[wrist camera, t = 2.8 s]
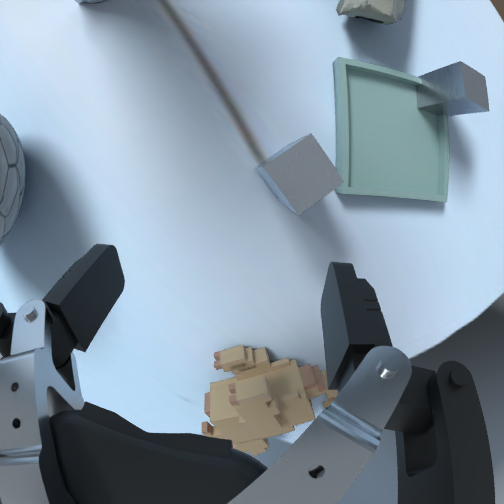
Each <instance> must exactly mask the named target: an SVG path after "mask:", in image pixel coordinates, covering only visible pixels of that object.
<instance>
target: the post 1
mask: <svg viewBox="0 0 504 504" xmlns="http://www.w3.org/2000/svg"><path fill="white" fill-rule="evenodd" d="M255 169H256V170H257V172H258V173H259V174H260V175H261V177H262V178H263V179H264V181H265V182H266V183H267V185H268V186H269V187H270V189H271V190H272V191H273V193H274V194H275V195H276V197H277V198H278V199H279V201H280V202H282V203H283V204H284V205H286V206H287V207H288V208H289V209H291V210H292V211H293V212H295V213H296V214H297V215H298V216H299V215H300V214H301V213H303V212H304V211H306V210H307V209H308V208H310V207H311V206H312V205H314V204H315V203H316V202H318V201H319V200H320V199H322V198H323V197H325V196H326V195H327V194H329V193H330V192H331V191H333V190H334V189H335V188H337V187H338V186H339V185H341V184H342V183H343V182H344V181H343V179H342V178H341V176H340V174H339V173H338V171H337V170H336V168H335V167H334V165H333V164H332V162H331V161H330V159H329V158H328V156H327V155H326V154H325V152H324V151H323V149H322V148H321V146H320V145H319V144H318V142H317V141H316V139H315V138H314V137H313V135H312V134H309V135H307V136H304V137H302V138H300V139H298V140H296V141H294V142H292V143H290V144H288V145H287V146H285V147H284V148H282V149H281V150H280V151H278V152H277V153H275V154H274V155H273V156H271V157H270V158H268V159H267V160H266V161H264V162H263V163H261V164H260V165H259V166H257V167H256V168H255Z"/></svg>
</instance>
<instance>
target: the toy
mask: <svg viewBox="0 0 504 504" xmlns="http://www.w3.org/2000/svg"><path fill="white" fill-rule="evenodd" d="M214 358H215V359H216V361H215V362H214V367H215V368H216V370H219V369H222V368H223V370H224V371H225V372H227V371H232V373H233V374H235V375H236V377H234V378H230V379H226V380H222V381H218V382H214V383H210V392H209V393H205V413H206V414H207V415H208V416H209V417H210V422H211V423H212V424H213V425H214V426H211V425H210V424H209V423H208V422H202V433H203V434H205V435H206V436H208V437H214V438H220V439H227V440H232V444H233V448H234V449H237V450H239V451H242V452H246V451H249V452H250V453H252V454H253V455H258V454H259V453H260V452H265V451H267V448H266V447H269V444H268V437H272V436H276V435H280V434H284V433H287V432H291V431H295V429H294V426H295V425H298V424H301V423H305V422H308V421H311V420H314V419H315V416H314V412H313V409H312V404H311V400H310V399H311V398H314V397H317V396H320V395H322V394H326V397H327V399H328V401H325V402H323V405H324V408H326V407H328V406H329V405H330V404H331V403H332V402H333V400H334V399H335V398H336V397H337V395H338V390H328V386H327V374H326V371H325V370H323V371H320V372H319V369H318V366H317V365H316V366H313V367H311V365H310V364H307V365H305V366H302V367H298V365H297V362H296V359H294V360H291V361H289V359H288V357H287V358H284V359H281V360H278V361H275V362H272V363H270V360H269V355H268V352H267V350H266V348H265V347H263V348H260V349H256V350H253V349H252V347H248V348H245V347H244V345H239V346H236V347H233V348H229V349H226V350H222V351H219V352H215V353H214Z"/></svg>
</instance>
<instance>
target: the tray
mask: <svg viewBox="0 0 504 504" xmlns="http://www.w3.org/2000/svg"><path fill="white" fill-rule="evenodd" d="M333 73H334V90H335V116H336V170H337V171H338V173H339V174H340V176H341V178H342V179H343V181H344V182H343V183H342V184H341V185H339V186H338V187H337V188H335V192H337V193H340V194H357V195H373V196H387V197H399V198H410V199H421V200H430V201H439V202H447V196H448V178H449V133H448V116H446V115H438V116H437V115H434V114H432V113H429V112H426V111H423V110H421V109H418V108H417V96H416V86H417V85H420V84H422V81H421V78H418V77H415V76H412V75H409V74H406V73H403V72H400V71H396V70H393V69H389V68H386V67H382V66H378V65H374V64H370V63H366V62H361V61H357V60H352V59H347V58H341V57H338V58H337V59H336V60H335V61H334V62H333Z"/></svg>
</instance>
